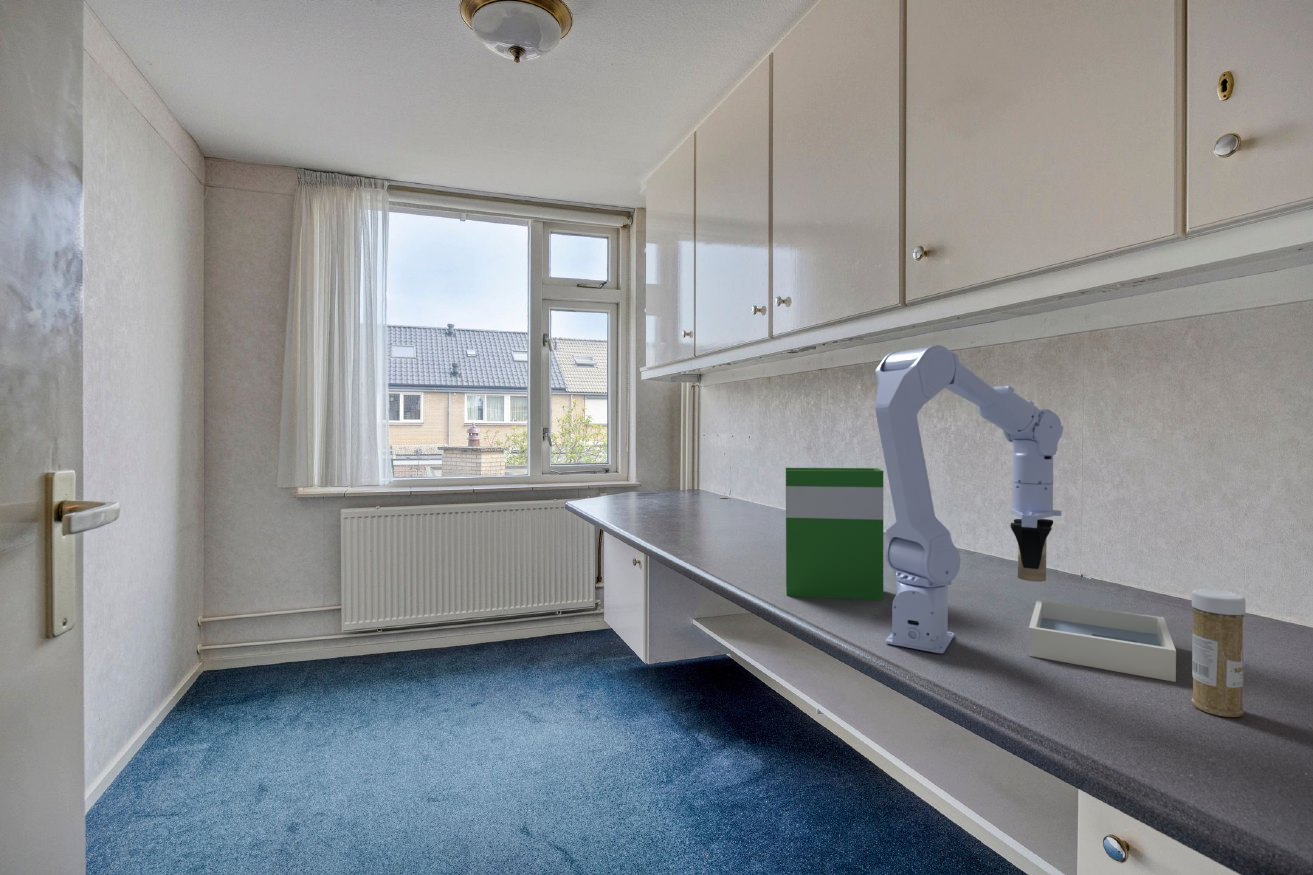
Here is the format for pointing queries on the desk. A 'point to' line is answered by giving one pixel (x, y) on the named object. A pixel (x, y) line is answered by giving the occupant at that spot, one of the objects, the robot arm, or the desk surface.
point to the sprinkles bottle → (1218, 652)
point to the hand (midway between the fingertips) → (1031, 565)
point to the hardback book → (834, 532)
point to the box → (1103, 639)
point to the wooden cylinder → (1033, 574)
